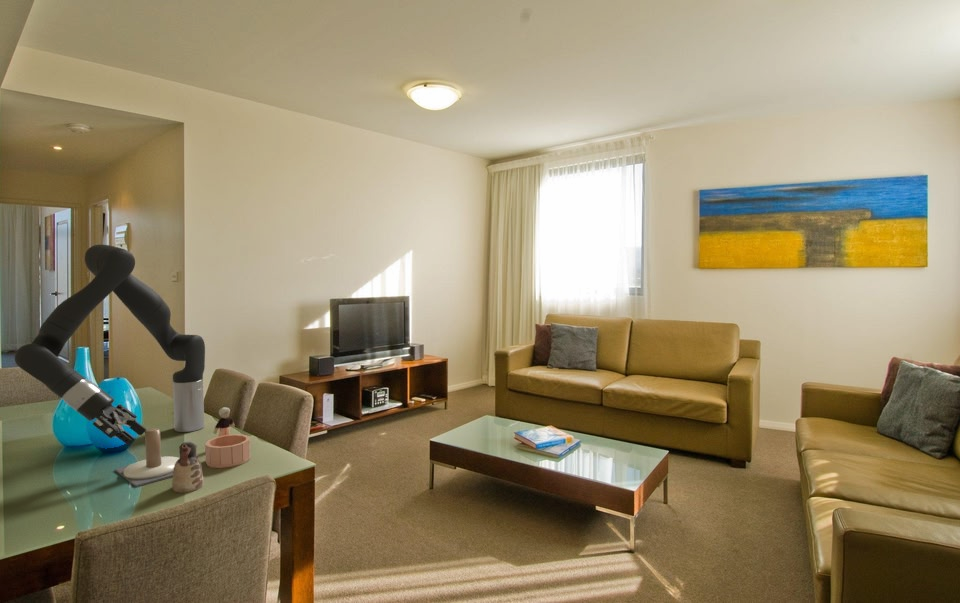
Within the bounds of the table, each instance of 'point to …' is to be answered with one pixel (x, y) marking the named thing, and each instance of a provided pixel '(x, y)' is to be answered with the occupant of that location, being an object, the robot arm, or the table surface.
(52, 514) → the table surface
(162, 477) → the mat
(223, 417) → the grandmother figurine
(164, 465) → the cover
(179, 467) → the figurine
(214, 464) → the bowl
